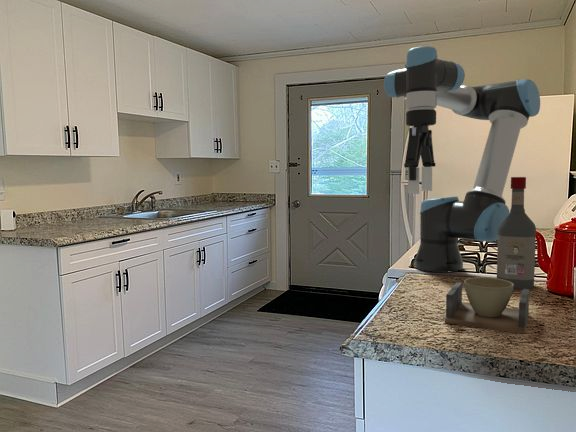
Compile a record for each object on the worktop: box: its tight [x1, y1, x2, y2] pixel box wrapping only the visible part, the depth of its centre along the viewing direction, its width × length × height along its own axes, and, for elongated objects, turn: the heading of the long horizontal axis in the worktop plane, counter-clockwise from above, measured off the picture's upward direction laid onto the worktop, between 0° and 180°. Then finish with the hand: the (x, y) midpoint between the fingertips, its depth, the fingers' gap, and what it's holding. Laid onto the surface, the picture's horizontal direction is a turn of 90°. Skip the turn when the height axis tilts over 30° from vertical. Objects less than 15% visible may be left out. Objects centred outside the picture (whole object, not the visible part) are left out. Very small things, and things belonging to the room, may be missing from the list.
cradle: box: [444, 282, 530, 335], centre depth 105 cm, size 14×15×6 cm
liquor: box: [496, 176, 537, 291], centre depth 130 cm, size 9×9×30 cm
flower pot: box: [463, 276, 514, 317], centre depth 105 cm, size 10×10×7 cm
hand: (420, 192), depth 125 cm, fingers open, 13 cm apart
